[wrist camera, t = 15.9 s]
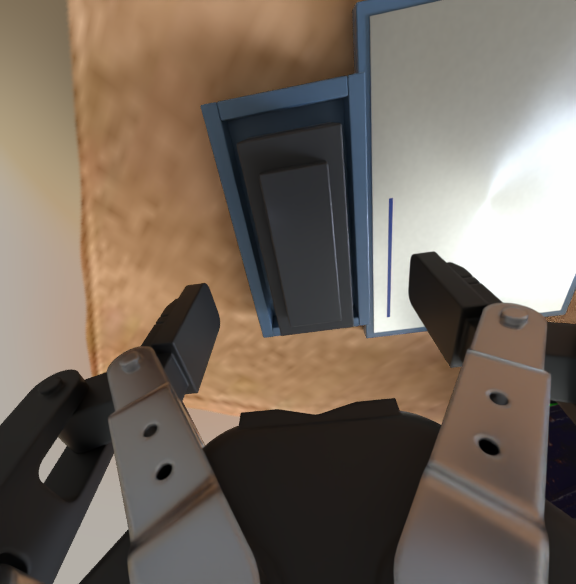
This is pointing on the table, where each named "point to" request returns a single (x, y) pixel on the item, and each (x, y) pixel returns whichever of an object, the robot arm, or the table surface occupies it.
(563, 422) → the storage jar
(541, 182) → the whiteboard
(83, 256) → the table surface
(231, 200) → the eraser holder
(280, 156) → the eraser
